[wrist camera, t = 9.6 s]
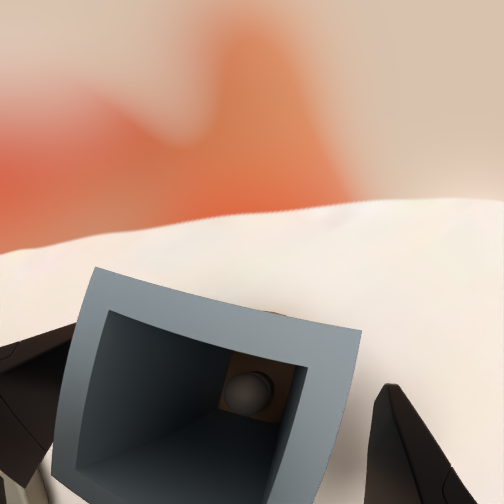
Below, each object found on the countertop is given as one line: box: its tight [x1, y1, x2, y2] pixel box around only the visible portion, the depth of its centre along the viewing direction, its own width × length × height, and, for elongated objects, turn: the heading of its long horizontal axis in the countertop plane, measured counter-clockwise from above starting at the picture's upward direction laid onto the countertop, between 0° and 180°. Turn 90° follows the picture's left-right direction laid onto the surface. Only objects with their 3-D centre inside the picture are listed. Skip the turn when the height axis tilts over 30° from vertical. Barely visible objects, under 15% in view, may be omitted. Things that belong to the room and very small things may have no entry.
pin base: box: [218, 311, 296, 424], centre depth 13 cm, size 9×9×5 cm
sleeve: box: [51, 267, 362, 504], centre depth 9 cm, size 5×5×12 cm
